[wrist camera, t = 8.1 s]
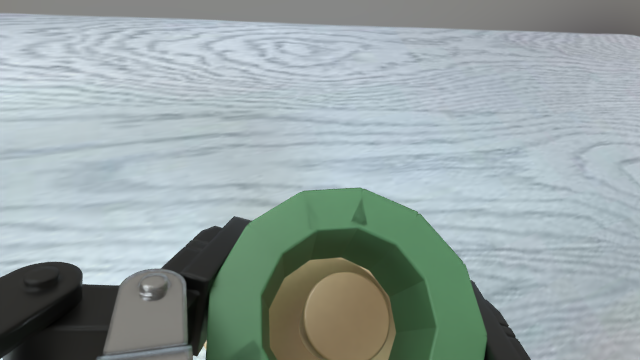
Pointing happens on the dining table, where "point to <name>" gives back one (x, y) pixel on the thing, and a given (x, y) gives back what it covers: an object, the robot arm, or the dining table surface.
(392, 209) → the ring
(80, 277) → the robot arm
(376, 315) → the peg stand
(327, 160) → the dining table surface
